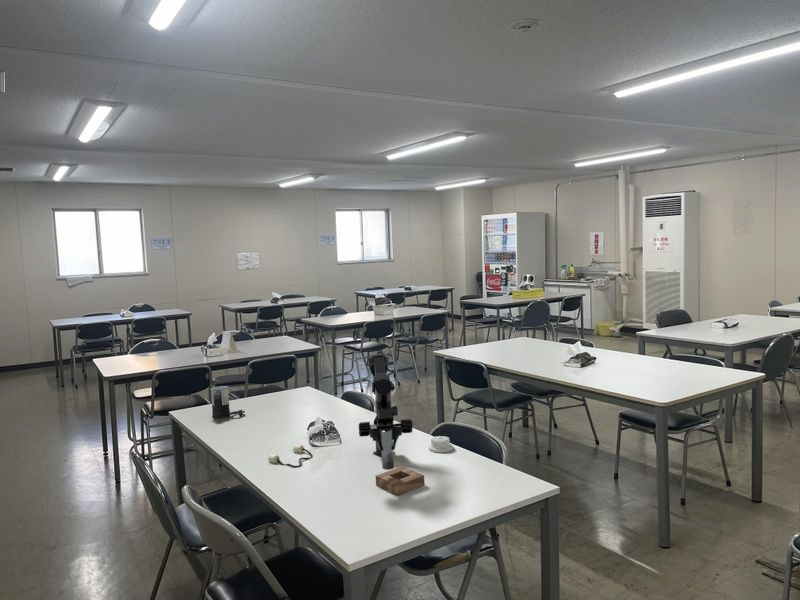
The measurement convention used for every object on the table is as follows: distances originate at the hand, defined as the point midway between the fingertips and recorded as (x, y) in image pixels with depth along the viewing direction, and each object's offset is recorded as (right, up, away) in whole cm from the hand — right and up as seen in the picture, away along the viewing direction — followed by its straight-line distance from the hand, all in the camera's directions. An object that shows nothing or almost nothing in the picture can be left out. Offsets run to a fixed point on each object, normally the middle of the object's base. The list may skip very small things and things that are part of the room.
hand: (387, 450), depth 197 cm
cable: (-38, -13, +35) cm, 53 cm away
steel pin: (0, -6, +2) cm, 7 cm away
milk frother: (-85, -9, +103) cm, 134 cm away
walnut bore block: (+4, -13, +3) cm, 14 cm away
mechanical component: (+21, -10, +38) cm, 45 cm away
